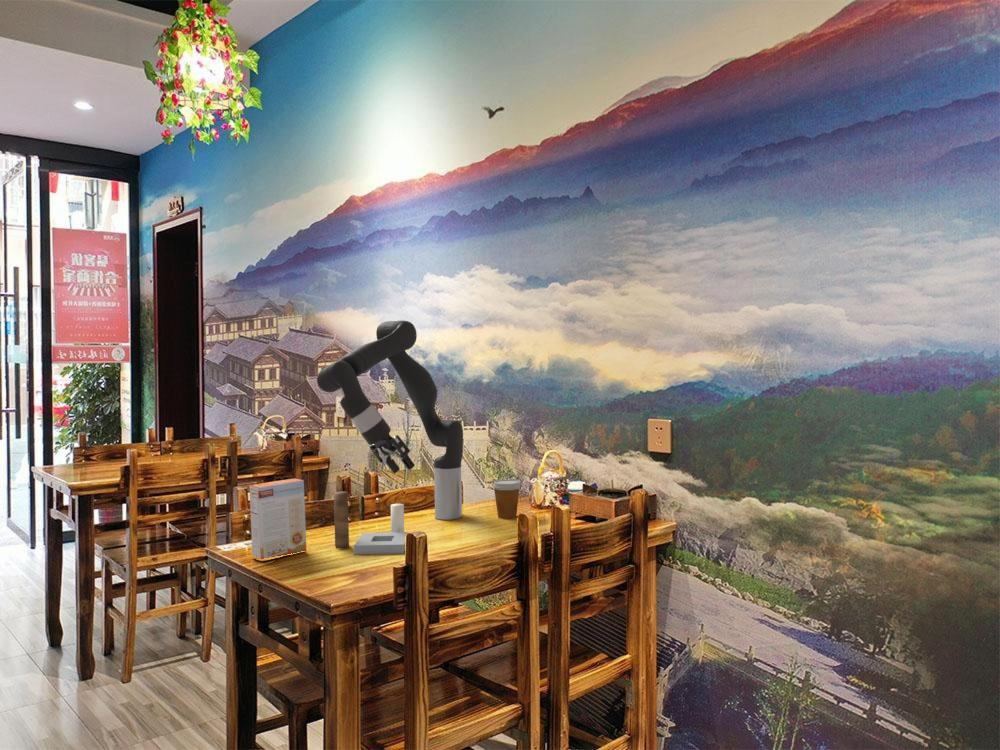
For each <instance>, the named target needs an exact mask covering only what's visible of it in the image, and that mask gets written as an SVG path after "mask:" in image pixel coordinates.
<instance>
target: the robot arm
mask: <svg viewBox="0 0 1000 750" xmlns="http://www.w3.org/2000/svg"><path fill="white" fill-rule="evenodd" d="M417 333H418V332H417V330H416V326H415V325H414V324H413V323H412V322H411V321H408V320H387V321H383V322H380V323H379V324H378V326H377V328H376V335H375V336H376V340H373V341H371V342H367V343H365V344H363V345H360V346H357V347H356V348H354V349H353V350H351V351H350V352H348V353H346V354H345V355H344V356H342V357H341V358H340V359H339V360H335V361H333V362H331V364H329V365H327V366H326V367H324V368H322V369H321V370H320V371H319V372H318V374H317V378H316V383H317V384H316V385H317V386H318V388H319V389H320V390H322V391H324V392H325V393H334V392H337V391H338V390H340V389H341V390H342V391H343V397H342V398H341V400H340V401H339V402H340V406H341V408H342V409H343V411H344V412H345V413H346V415H347V416H348V417H349V419H350V420H351V422H352V424H353V425H354V427H355V429H356V430H357V431H358V432H359V434H360V435H361V436H362V438H363V439H364V440H365V442H366V443H367V445H369V449H370V450H371V452H372V453H373V454H374V456H375V458H376V459H377V460H378V462H379V463H381V464H382V463H383V464H385V465H387V467H388V469H390V471H391V472H392V473H393V474H397V473H398V472H399V471H400V467H399V465H398V463H397V462H396V461H395V459H394V458H393V457H397V458H398V459H399V460H401V463H402V464H403V465H404V466H405V468H406V469H407V470H412V469H413V468H415V463H414V462H413V461H412V459H411V457H410V456H409V453H411V450H410V448H409V447H408V446H407V445H406V444H405V442H404V441H403V439H401V437H400V436H399V435H398V434H396V435H395V436H394V437H392V436H391V434H390V432H391V430H392V429H391V427H390V426H389V424H388V422H386V420H385V419H384V418H383V417H384V416H382V414H381V413H380V412H379V411H378V409H376V407H375V406H374V405H373V403H371V402H370V400H369V399H368V397H367V396H366V395H365V393H364V391H363V389H362V387H361V383H360V381H359V379H358V377H359V376H361V375H362V374H364V373H365V372H367V371H369V370H370V369H372V368H373V367H375V366H376V365H377V364H379V363H381V362H383V361H384V360H386V359H388V360H389V361H388V362H390V363H391V365H392V367H393V368H394V370H395V372H396V374H397V375H398V377H399V379H400V380H401V381H400V382H402V384H403V386H404V387H403V388H405V391H406V393H407V394H408V397H409V398H410V400H411V402H412V403H413V405H414V407H415V409H416V411H417V413H418V416H419V418H420V420H421V423H422V425H423V428H424V430H425V434H426V437H427V438H428V440H429V442H430V443H431V444H432V445H433V446H435V447H439V448H445V453H444V454H443V455H441V456H438V457H435V459H434V460H433V472H434V473H433V478H434V518H435V519H437V520H446V521H447V520H448V521H451V520H458V519H460V517H461V518H462V517H463V508H462V507H463V495H462V493H463V491H462V461H463V454H464V453H463V452H464V451H463V450H464V448H463V447H464V429H463V426H462V423H461V422H460V421H458V420H456V419H441V418H440V417H439V415H438V414H437V411H436V403H437V399H438V388H437V386H436V384H435V381H434V379H433V378H432V375H431V373H429V371H428V370H427V369H426V368H425V367H424V366H423V365H421V363H419V362H418V361H417V360H415V359H414V358H413V357H411V356H410V355H409V353H407V352H406V351H408V350H410V349H411V348H412V347H413V346H414V345H415V344H416V341H417V336H418V335H417ZM392 456H393V457H392Z"/></svg>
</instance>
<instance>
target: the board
mask: <svg viewBox="0 0 1000 750" xmlns="http://www.w3.org/2000/svg"><path fill="white" fill-rule="evenodd" d="M407 533H408V531H404V532H395V533H391V532H363V533H362V534H361V535H360V536H359V538H358V539H357V541H356V542H355V544H354V545H353V555H380V554H381V555H385V554H388V555H391V554H395V555H396V554H405V552H406V550H405V536H406V534H407ZM404 551H405V552H404Z"/></svg>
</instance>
